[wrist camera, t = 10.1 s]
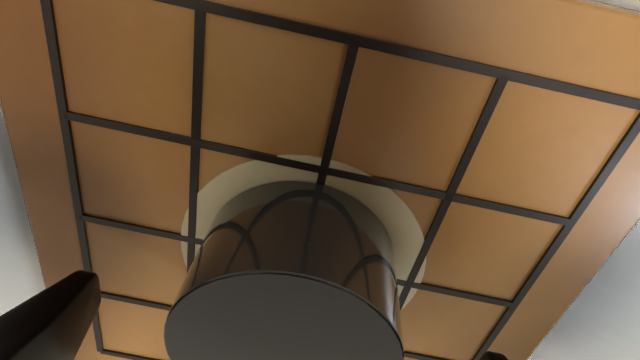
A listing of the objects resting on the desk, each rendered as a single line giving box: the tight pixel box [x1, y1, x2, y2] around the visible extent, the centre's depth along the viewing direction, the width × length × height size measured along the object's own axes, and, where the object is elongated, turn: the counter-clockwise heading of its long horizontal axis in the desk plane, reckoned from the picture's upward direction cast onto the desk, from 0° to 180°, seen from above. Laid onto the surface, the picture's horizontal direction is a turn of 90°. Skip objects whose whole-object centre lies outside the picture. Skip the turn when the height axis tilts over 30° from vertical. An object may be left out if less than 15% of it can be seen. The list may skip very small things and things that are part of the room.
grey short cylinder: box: [164, 181, 404, 360], centre depth 10 cm, size 5×5×3 cm
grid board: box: [0, 0, 640, 360], centre depth 12 cm, size 15×15×1 cm
